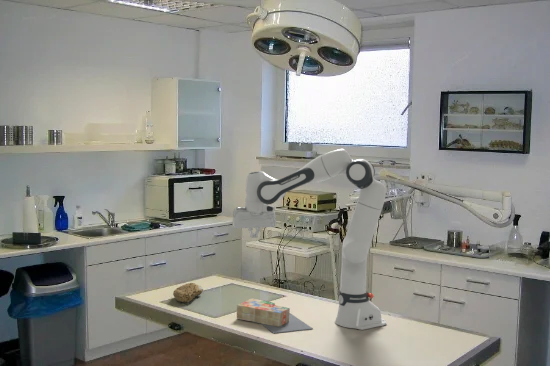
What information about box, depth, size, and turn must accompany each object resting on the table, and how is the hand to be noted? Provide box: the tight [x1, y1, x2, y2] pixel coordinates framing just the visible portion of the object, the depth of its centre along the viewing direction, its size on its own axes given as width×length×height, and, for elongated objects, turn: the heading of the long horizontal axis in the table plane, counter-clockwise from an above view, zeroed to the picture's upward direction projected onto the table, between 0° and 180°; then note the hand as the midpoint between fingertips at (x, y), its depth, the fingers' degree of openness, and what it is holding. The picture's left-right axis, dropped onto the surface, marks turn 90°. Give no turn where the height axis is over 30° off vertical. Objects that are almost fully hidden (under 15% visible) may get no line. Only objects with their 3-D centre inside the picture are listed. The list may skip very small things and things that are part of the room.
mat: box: [260, 312, 314, 334], centre depth 271 cm, size 18×26×1 cm
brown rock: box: [172, 282, 204, 303], centre depth 301 cm, size 13×8×20 cm
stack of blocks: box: [236, 297, 291, 327], centre depth 273 cm, size 21×6×12 cm
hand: (253, 237), depth 283 cm, fingers closed
